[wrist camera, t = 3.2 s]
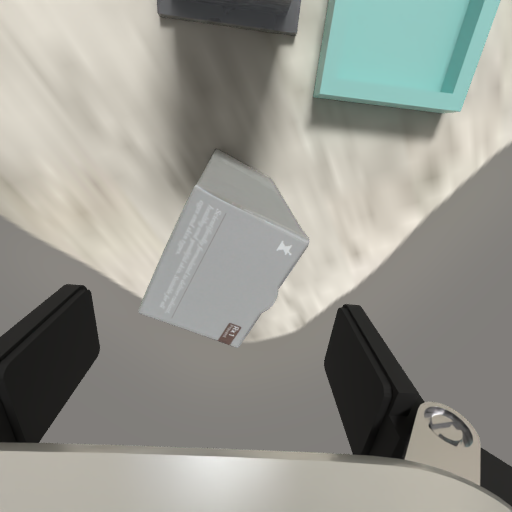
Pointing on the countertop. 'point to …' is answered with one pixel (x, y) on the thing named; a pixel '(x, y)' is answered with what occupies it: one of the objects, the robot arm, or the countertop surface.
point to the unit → (237, 13)
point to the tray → (403, 52)
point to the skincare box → (225, 254)
